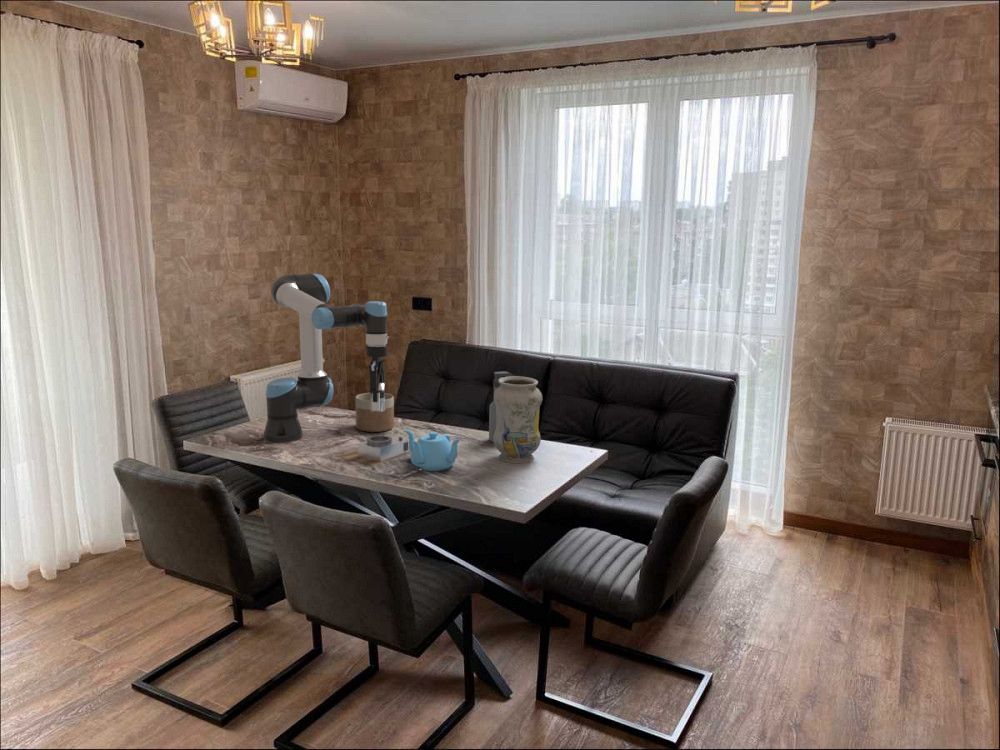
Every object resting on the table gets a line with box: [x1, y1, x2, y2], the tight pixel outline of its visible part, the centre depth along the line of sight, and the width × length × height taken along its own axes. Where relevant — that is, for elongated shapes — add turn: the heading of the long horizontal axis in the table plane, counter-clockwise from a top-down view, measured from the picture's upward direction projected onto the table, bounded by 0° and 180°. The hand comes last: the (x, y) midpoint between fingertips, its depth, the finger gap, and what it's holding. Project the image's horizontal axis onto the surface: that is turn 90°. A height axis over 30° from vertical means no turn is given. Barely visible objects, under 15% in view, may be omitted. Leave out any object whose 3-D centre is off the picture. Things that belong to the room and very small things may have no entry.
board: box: [335, 448, 411, 467], centre depth 278 cm, size 19×20×1 cm
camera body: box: [357, 434, 409, 462], centre depth 278 cm, size 11×15×6 cm
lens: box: [370, 382, 386, 412], centre depth 272 cm, size 5×5×10 cm
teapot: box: [404, 428, 461, 472], centre depth 270 cm, size 17×19×12 cm
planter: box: [355, 392, 395, 433], centre depth 318 cm, size 16×16×14 cm
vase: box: [493, 375, 543, 464], centre depth 278 cm, size 18×18×30 cm
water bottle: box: [488, 371, 515, 443], centre depth 302 cm, size 10×10×28 cm
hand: (377, 408), depth 273 cm, fingers closed on lens, 5 cm apart
